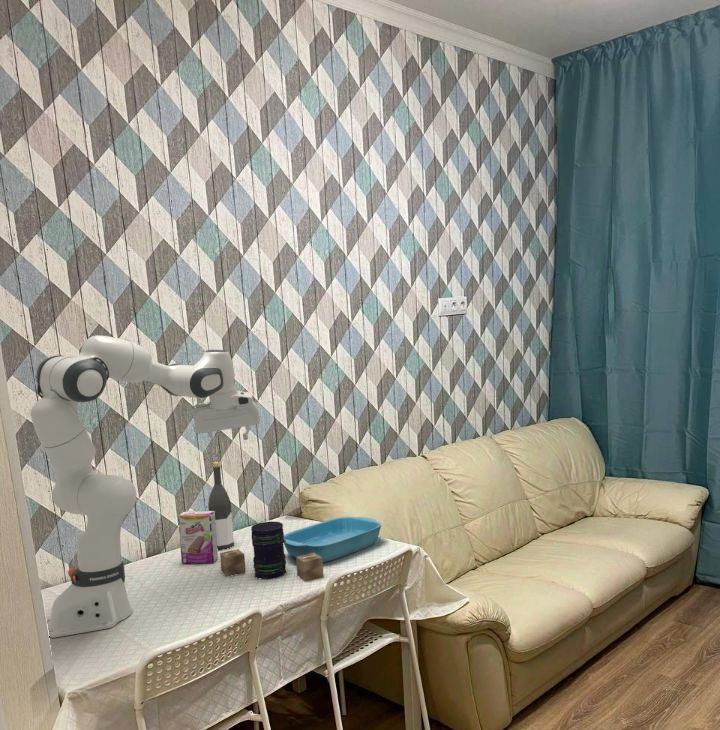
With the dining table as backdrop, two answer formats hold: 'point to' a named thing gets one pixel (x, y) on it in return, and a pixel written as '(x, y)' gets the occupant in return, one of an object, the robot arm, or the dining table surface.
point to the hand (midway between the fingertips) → (231, 441)
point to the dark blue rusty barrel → (268, 550)
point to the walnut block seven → (232, 562)
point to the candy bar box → (198, 537)
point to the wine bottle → (221, 511)
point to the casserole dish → (333, 537)
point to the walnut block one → (309, 566)
